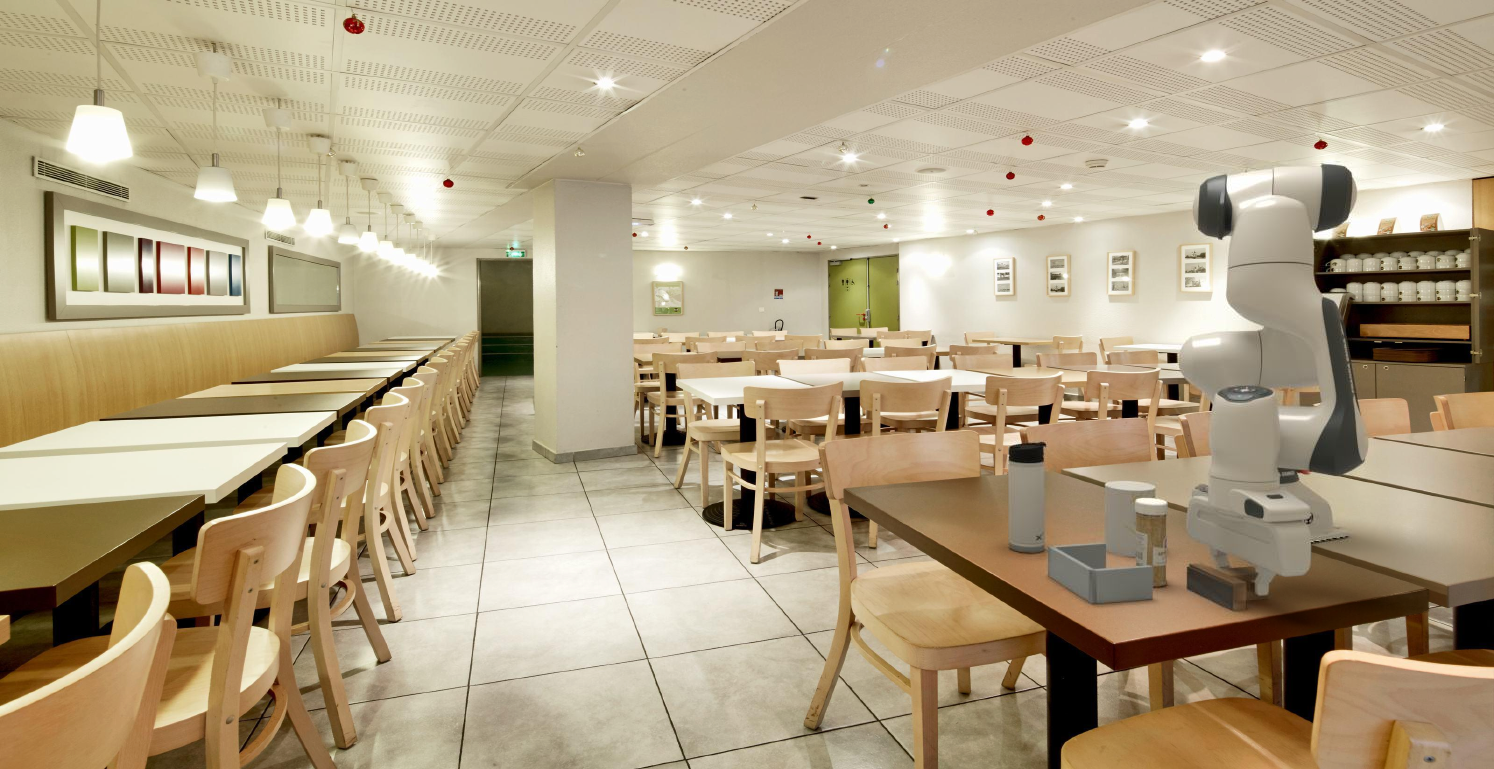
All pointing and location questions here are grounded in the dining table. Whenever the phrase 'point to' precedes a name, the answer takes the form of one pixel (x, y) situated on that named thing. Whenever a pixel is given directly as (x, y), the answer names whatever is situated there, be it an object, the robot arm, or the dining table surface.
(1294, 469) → the robot arm
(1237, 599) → the scraper
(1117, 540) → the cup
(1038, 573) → the dining table surface
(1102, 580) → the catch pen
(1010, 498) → the travel mug
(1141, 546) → the sprinkles bottle
